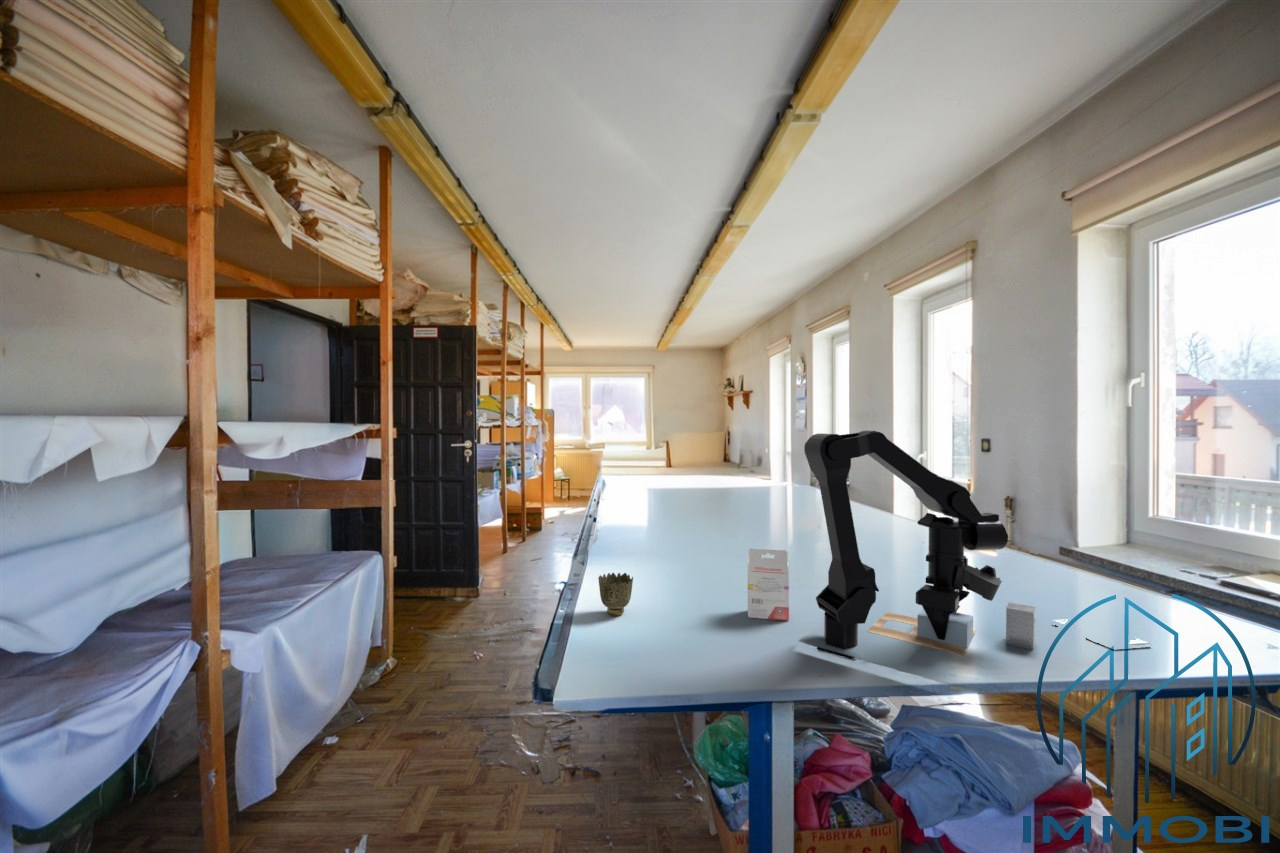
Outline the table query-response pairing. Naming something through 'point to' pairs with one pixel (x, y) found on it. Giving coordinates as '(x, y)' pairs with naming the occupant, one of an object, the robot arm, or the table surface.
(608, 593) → the cup
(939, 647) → the socket board
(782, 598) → the ink cartridge box
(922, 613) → the block
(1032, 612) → the grey rectangular block
